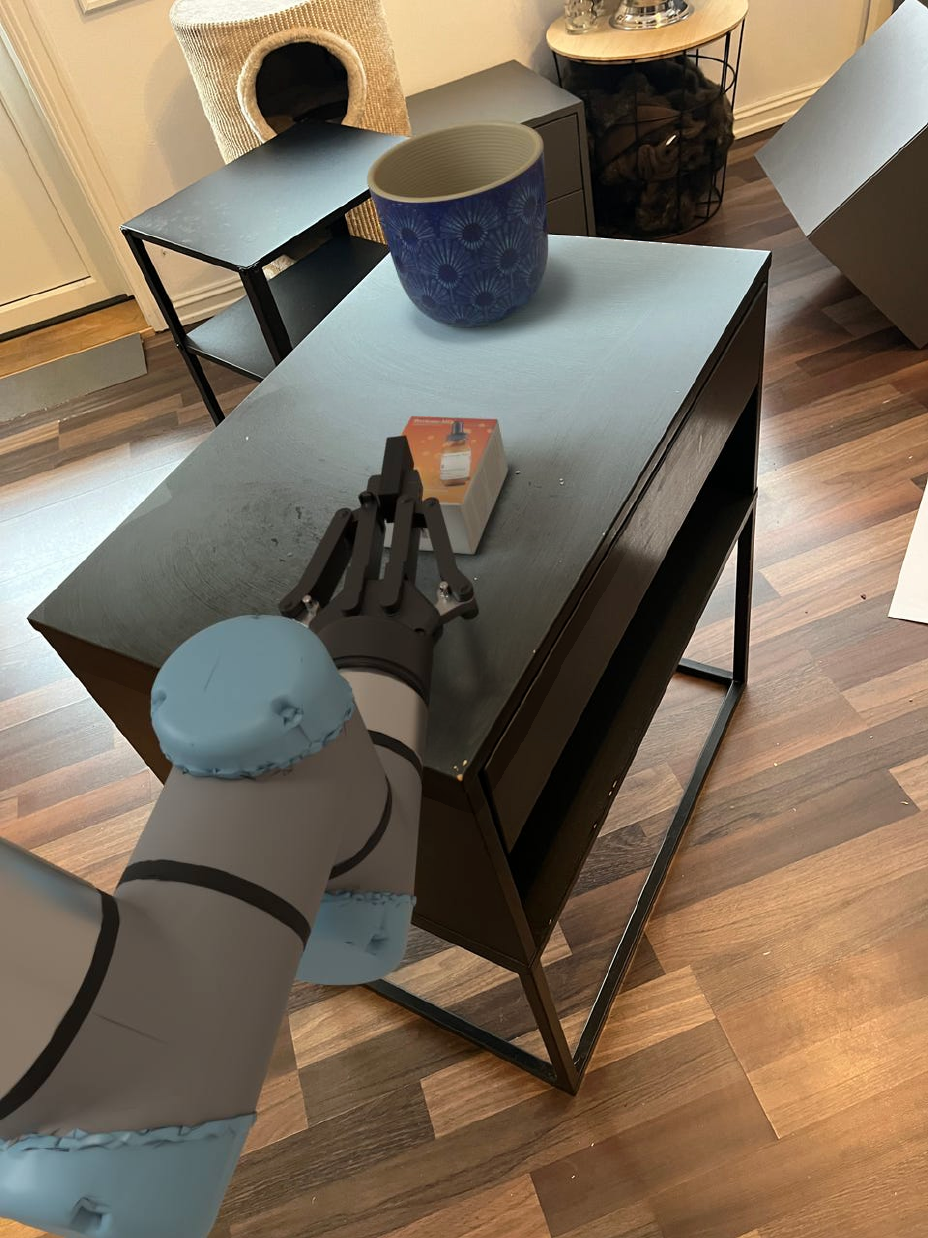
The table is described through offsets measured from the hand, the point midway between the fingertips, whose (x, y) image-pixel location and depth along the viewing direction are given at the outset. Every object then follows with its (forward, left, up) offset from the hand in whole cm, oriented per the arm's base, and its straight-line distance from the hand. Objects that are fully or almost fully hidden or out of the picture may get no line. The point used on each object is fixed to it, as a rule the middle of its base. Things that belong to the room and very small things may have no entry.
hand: (400, 450), depth 70 cm
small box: (0, -2, -6) cm, 6 cm away
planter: (+4, +35, -9) cm, 36 cm away
